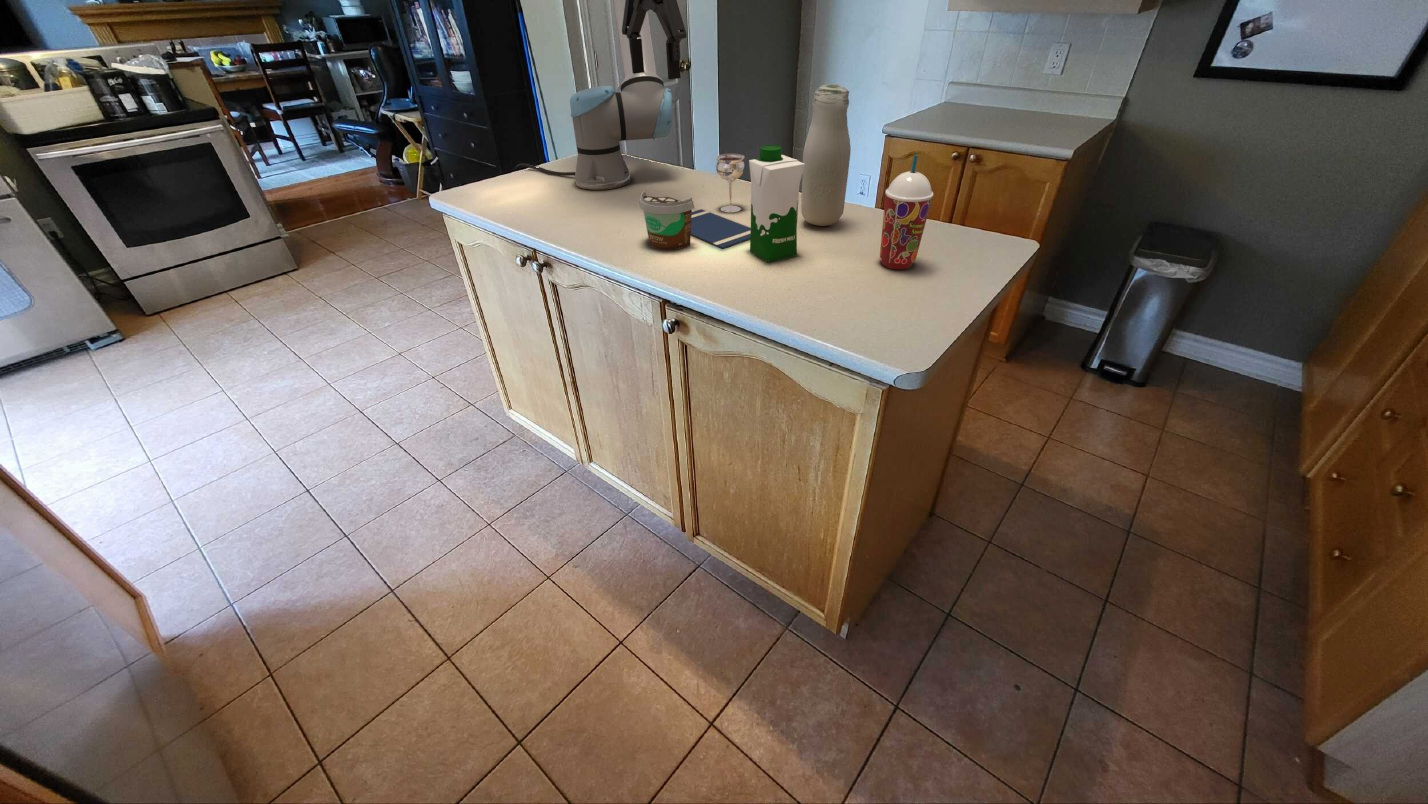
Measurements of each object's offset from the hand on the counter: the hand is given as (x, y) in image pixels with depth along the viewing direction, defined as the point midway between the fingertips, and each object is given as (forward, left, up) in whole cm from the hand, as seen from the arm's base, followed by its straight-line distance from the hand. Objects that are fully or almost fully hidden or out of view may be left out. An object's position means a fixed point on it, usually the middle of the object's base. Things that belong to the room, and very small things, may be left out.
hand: (655, 76), depth 124 cm
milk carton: (+39, -1, -29) cm, 49 cm away
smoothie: (+59, +13, -29) cm, 67 cm away
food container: (+20, -15, -29) cm, 38 cm away
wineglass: (+12, +11, -29) cm, 33 cm away
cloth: (+19, -1, -29) cm, 34 cm away
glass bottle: (+34, +19, -29) cm, 48 cm away
